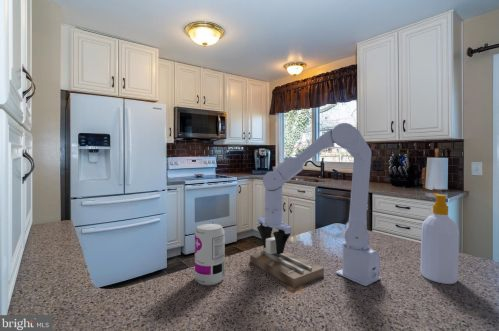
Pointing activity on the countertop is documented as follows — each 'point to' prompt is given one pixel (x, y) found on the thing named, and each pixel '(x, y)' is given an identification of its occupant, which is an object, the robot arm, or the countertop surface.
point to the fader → (271, 246)
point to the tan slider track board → (287, 267)
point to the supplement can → (209, 253)
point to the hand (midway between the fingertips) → (273, 250)
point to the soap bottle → (440, 245)
